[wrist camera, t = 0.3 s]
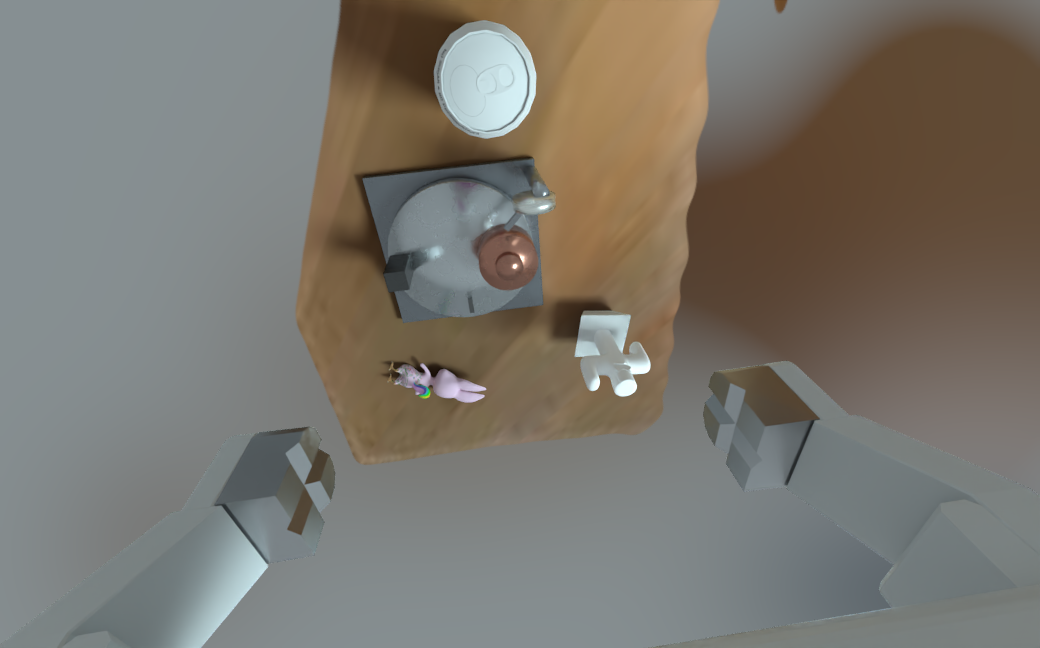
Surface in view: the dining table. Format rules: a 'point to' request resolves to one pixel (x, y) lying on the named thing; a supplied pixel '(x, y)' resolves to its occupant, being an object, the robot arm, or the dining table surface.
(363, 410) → the dining table surface
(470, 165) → the plinth
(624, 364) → the figurine
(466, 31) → the supplement can
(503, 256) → the cover
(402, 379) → the rabbit figure
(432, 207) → the turntable
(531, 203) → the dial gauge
